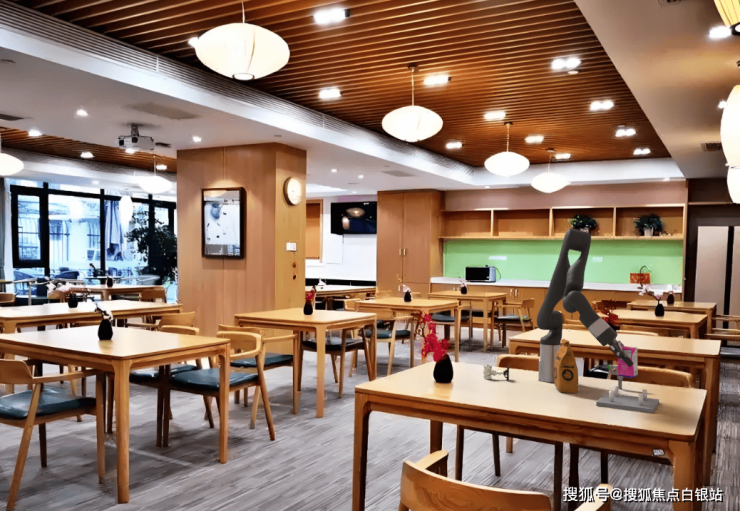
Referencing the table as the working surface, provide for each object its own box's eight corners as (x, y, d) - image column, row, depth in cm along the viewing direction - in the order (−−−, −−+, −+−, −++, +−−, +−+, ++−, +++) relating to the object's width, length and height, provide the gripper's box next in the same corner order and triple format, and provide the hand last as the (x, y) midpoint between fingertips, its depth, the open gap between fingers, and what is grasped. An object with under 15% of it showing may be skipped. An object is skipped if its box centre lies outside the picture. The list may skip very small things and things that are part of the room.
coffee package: (555, 392, 254) (556, 341, 254) (553, 387, 266) (553, 338, 267) (579, 394, 252) (580, 342, 252) (576, 388, 264) (576, 338, 264)
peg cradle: (596, 405, 231) (596, 391, 232) (606, 396, 248) (606, 383, 248) (652, 413, 221) (652, 398, 221) (659, 402, 238) (659, 389, 238)
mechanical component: (631, 391, 260) (631, 368, 260) (607, 387, 266) (607, 365, 266) (633, 389, 262) (633, 367, 262) (608, 386, 268) (609, 364, 269)
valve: (482, 380, 281) (508, 381, 278) (482, 366, 281) (508, 367, 278) (483, 377, 287) (509, 379, 284) (483, 363, 287) (509, 365, 284)
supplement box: (623, 374, 239) (623, 345, 239) (638, 376, 235) (638, 347, 235) (616, 375, 235) (617, 346, 235) (632, 378, 231) (632, 348, 231)
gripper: (605, 327, 233) (638, 360, 226) (612, 324, 245) (643, 355, 238) (591, 339, 235) (622, 372, 229) (599, 336, 248) (629, 367, 241)
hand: (633, 364), depth 234 cm, fingers closed on supplement box, 6 cm apart
